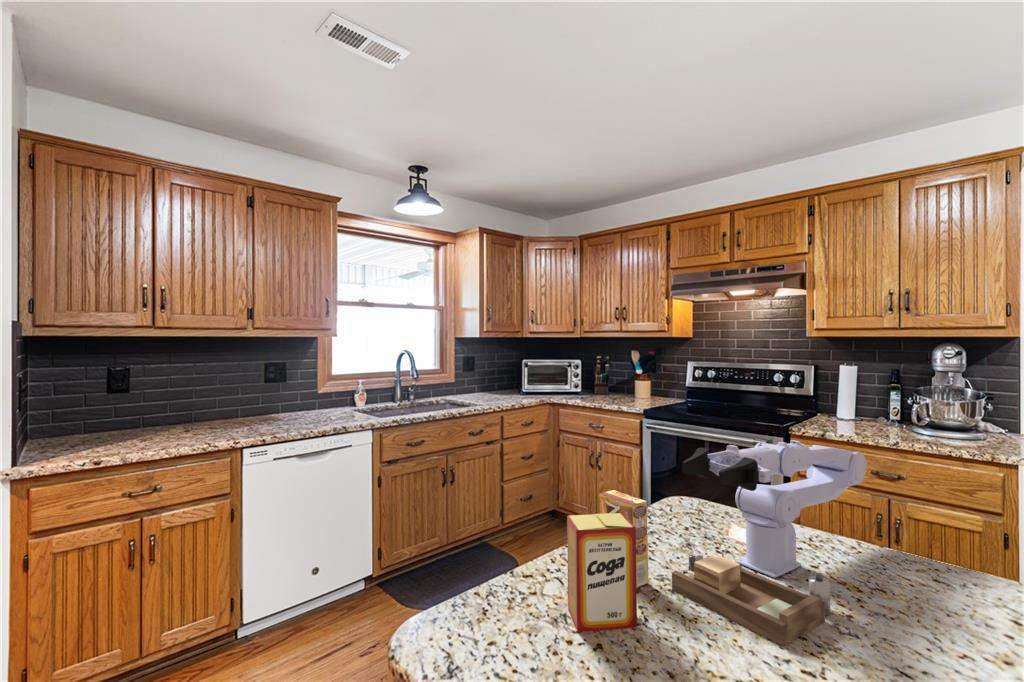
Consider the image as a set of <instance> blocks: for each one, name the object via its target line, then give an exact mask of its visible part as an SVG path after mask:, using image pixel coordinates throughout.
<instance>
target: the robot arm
mask: <svg viewBox="0 0 1024 682" xmlns="http://www.w3.org/2000/svg"><path fill="white" fill-rule="evenodd" d="M867 465H868V463H867V459H866V457H865V456H864V454H863V453H862V452H860V451H852V450H848V449H844V448H843V449H842V448H837V447H832V446H824V445H819V444H813V445H812V446H807V445H806V444H803V443H802V442H801V441H800V440H796V439H795V440H793V439H792V440H790V443H787V442H785V441H779V442H777V444H771V443H767V442H764V443H763V442H761V441H760V442H758V443H756V444H755V446H754V447H748V448H742V449H739V447H738V446H737V445H732V444H729V445H727V446H726V450H723V451H719V452H713V453H709V450H708V448H705V447H698V448H697V449H695V452H693V454H692V456H690V457H689V458H687V459H685V460H683V461H682V464H681V473H682V474H685V475H691V476H692V475H693V476H695V475H696V476H698V477H701V478H704V479H710V471H711V472H712V473H714V474H715V475H716V476H717V477H718V484H721V485H723V486H733V487H737V489H736V492H735V497H734V498H735V500H734V501H735V504H736V507H737V509H738V511H739V512H741V517H742V518H744V519H745V556H743V557H741V558H739V559H736V563H738V564H740V566H741V565H742V566H744V567H747V568H749V569H752V570H753V571H756V572H758V573H761V574H763V575H765V576H766V575H767V576H769V577H771V578H775V579H776V578H779V577H780V576H782V575H784V574H787V573H789V572H790V571H793V570H795V569H798V568H799V567H801V566H802V564H801V562H799V561H797V533H796V529H795V527H794V525H793V524H792V523H793V521H794V520H795V519H797V518H800V517H801V511H802V509H804V508H807V507H811V506H816V505H819V504H823V503H828V502H831V501H834V500H837V499H838V498H839V496H841V495H842V494H843V493H844V492H845V491H846V490H848V488H849V487H853V486H857V485H861V484H862V482H863V481H864V478H865V475H866V472H867V467H868V466H867ZM803 471H806V474H805V476H806V479H800V480H796V481H789V482H786V483H782V484H781V483H780V484H776V485H772V484H765V483H771V480H772V479H771V478H772V476H773V475H779V476H783V477H789V478H792V477H793V476H794V475H795V473H796V472H803ZM758 482H760V484H758ZM761 483H763V484H761Z"/></svg>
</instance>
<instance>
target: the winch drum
mask: <svg viewBox="0 0 1024 682" xmlns="http://www.w3.org/2000/svg"><path fill="white" fill-rule="evenodd" d="M823 574H824V573H821V572H815V575H810V576H809V577H808V596H811V595H815V596H817V597H820V598H821V601H823V602H825V617H826V616H830V615H831V581H830V580H829V579H828V578H825V577H824V576H823Z"/></svg>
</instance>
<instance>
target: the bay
mask: <svg viewBox="0 0 1024 682" xmlns="http://www.w3.org/2000/svg"><path fill="white" fill-rule="evenodd" d="M740 579H741V584H740V587H739V588H737V589H735V590H733V591H731V592H728V593H726V594H724V593H722V592H720V591H718V590H716V589H714V588H712V587H710V586H707V585H705V584H703V583H701V582H699V581H697V580H695V579H694V574H692V575H690V576H688V575H687V574H684V573H682V572H679V571H677V570H676V571H675V570H674V571H673V572H671V589H672V590H673V591H674V592H676V593H678V594H680V595H682V596H684V597H686V598H689V599H690V600H693V601H694V602H695V603H698V604H700V605H702V606H704V607H706V608H708V609H709V610H710V611H711V610H712V611H714V612H715V613H717V614H719V615H721V616H723V617H724V618H725V617H726V618H727V619H728V620H731V621H733V622H735V623H737V624H739V625H740V626H743V627H744V628H747V629H749V631H752V632H754V633H756V634H757V635H760V636H762V637H764V638H766V639H768V640H769V641H772V642H774V643H775V644H777V645H779V646H781V647H785V646H787V645H788V644H790V643H791V642H793V641H795V640H796V639H798V638H800V637H801V636H803V635H805V634H806V633H808V632H810V631H811V630H813V629H814V628H816V627H818V626H820V625H821V624H823V623H824V622H825V621H826V616H825V602H823V601H821V598H820V597H817V596H815V595H811V596H809V594H806V593H804V592H801V591H799V590H796V589H794V588H791V587H789V586H787V585H784V584H781V583H779V582H776V581H774V580H772V579H769V578H767V577H765V576H762V575H759V574H757V573H755V572H752V571H750V570H747V569H745V568H743V567H741V572H740Z"/></svg>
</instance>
